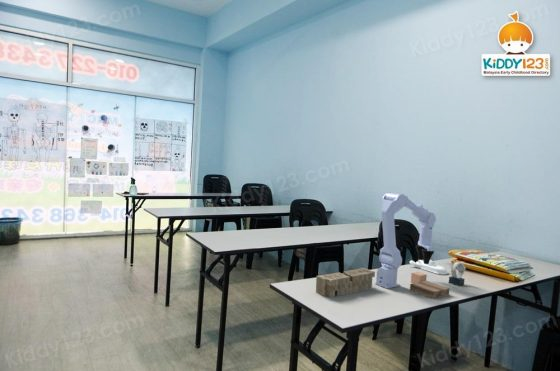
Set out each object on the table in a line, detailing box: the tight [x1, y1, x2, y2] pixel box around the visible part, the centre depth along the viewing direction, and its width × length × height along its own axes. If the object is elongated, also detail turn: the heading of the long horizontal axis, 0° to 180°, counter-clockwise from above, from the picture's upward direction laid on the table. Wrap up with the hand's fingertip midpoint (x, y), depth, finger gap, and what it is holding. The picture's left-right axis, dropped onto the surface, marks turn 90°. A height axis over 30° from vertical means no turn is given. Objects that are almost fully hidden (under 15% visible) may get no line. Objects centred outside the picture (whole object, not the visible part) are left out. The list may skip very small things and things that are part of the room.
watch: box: [448, 261, 467, 287], centre depth 191 cm, size 6×8×11 cm
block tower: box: [315, 267, 376, 298], centre depth 172 cm, size 8×8×29 cm
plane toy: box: [409, 259, 449, 275], centre depth 215 cm, size 10×20×6 cm, turn 35°
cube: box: [410, 271, 428, 284], centre depth 189 cm, size 5×5×5 cm
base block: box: [409, 280, 450, 300], centre depth 176 cm, size 12×12×3 cm
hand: (423, 261), depth 195 cm, fingers open, 7 cm apart
